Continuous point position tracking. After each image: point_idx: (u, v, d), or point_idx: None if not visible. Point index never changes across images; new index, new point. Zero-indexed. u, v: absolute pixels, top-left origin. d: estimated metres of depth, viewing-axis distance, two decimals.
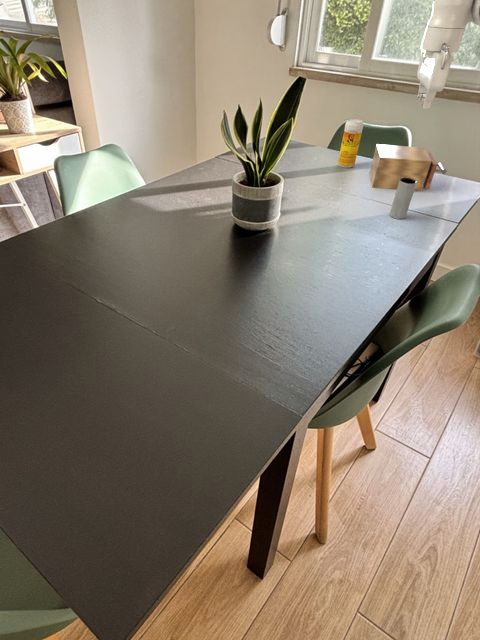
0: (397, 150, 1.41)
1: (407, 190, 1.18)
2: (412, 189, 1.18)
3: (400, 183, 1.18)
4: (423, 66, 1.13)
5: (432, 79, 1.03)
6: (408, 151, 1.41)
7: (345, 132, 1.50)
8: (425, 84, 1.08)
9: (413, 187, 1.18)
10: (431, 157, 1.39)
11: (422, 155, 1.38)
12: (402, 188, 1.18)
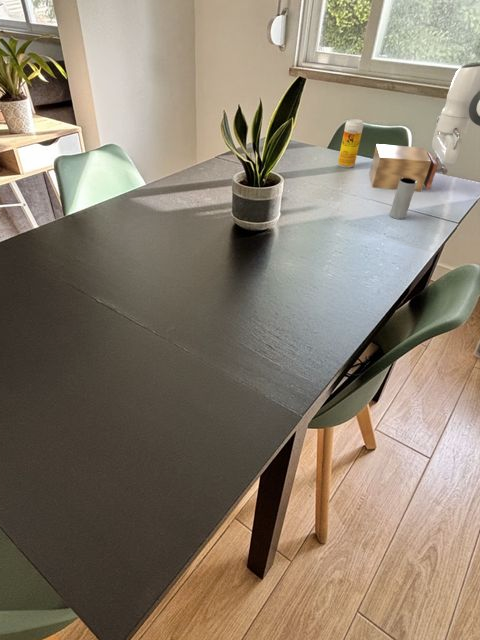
0: (397, 150, 1.41)
1: (407, 190, 1.18)
2: (412, 189, 1.18)
3: (400, 183, 1.18)
4: (437, 140, 1.39)
5: (446, 156, 1.29)
6: (408, 151, 1.41)
7: (345, 132, 1.50)
8: (439, 158, 1.34)
9: (413, 187, 1.18)
10: (432, 157, 1.39)
11: (422, 155, 1.38)
12: (401, 188, 1.18)
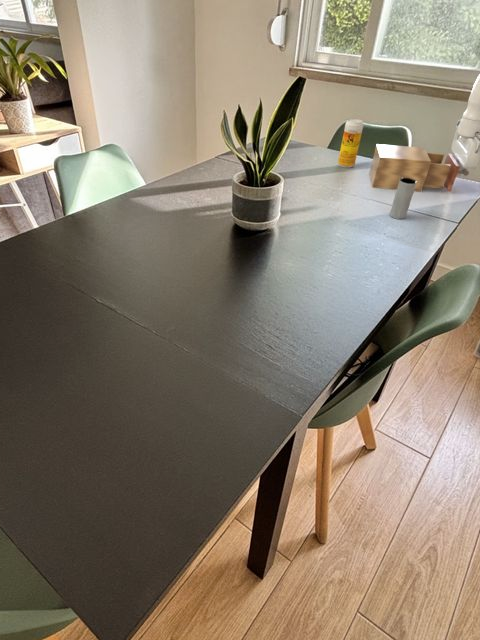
0: (397, 150, 1.41)
1: (407, 190, 1.18)
2: (412, 189, 1.18)
3: (400, 183, 1.18)
4: (457, 144, 1.39)
5: (467, 160, 1.29)
6: (408, 151, 1.41)
7: (345, 132, 1.50)
8: (460, 161, 1.34)
9: (413, 187, 1.18)
10: (453, 159, 1.38)
11: (422, 155, 1.38)
12: (401, 188, 1.18)
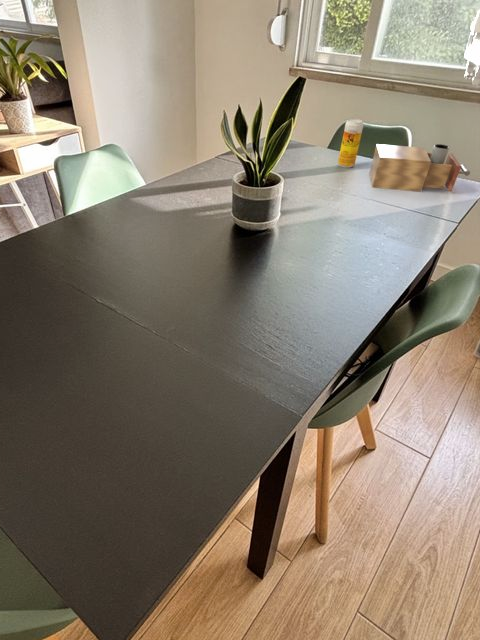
0: (397, 150, 1.41)
1: (441, 155, 1.36)
2: (445, 154, 1.36)
3: (435, 148, 1.36)
4: (472, 48, 1.28)
5: None
6: (408, 151, 1.41)
7: (345, 132, 1.50)
8: (475, 63, 1.23)
9: (446, 152, 1.36)
10: (454, 159, 1.38)
11: (422, 155, 1.38)
12: (436, 152, 1.36)
